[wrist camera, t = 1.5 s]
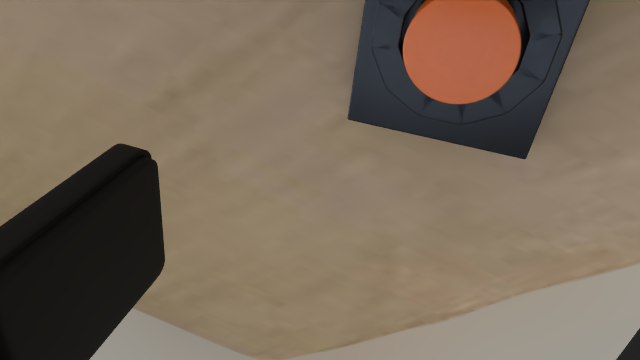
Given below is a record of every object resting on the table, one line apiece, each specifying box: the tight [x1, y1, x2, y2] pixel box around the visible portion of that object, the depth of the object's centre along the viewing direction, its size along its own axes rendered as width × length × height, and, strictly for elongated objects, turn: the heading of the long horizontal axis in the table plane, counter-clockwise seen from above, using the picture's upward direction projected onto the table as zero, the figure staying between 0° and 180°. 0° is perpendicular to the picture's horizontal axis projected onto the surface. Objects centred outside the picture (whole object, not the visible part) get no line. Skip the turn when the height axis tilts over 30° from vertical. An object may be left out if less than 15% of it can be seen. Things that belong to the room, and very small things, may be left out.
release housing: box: [348, 0, 590, 159], centre depth 21 cm, size 11×9×4 cm
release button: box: [403, 0, 521, 104], centre depth 19 cm, size 4×4×2 cm
